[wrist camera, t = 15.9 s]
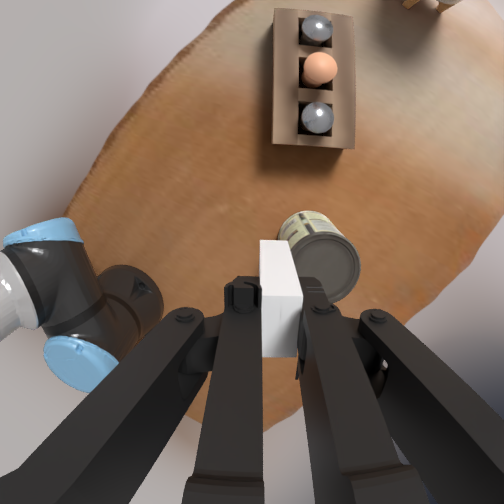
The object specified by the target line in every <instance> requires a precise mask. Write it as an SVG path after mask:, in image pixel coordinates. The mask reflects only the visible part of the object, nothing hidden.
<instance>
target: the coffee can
mask: <svg viewBox="0 0 504 504" xmlns="http://www.w3.org/2000/svg"><path fill="white" fill-rule="evenodd" d="M278 240H281V241H288V244H289V248H290V251H291V255H292V258H293V261H294V265H295V269H296V272H297V276H298V277H315V278H316V279H318V280H319V281H320V282H321V284H322V286H323V289H324V292H325V294H326V296H327V298H328V301H329V303H332V304H333V303H335V302H337V301H340V300H341V299H343V298H344V297H345V296H347V295H348V294H349V293H350V292H351V291H352V289H353V288H354V287H355V285H356V283H357V281H358V279H359V275H360V271H361V262H360V257H359V254H358V251H357V250H356V248H355V246H354V245H353V244H352V243H351V242H350V241H349V240H348V239H347V238H345V237H344V236H343V235H342V234H341V233H340V231H339V230H338V229H337V228H336V227H335V226H334V225H333V224H332V223H331V221H330V220H329V219H328V218H327V217H326V216H324V215H323V214H321V213H318V212H315V211H301V212H298V213H296V214H294V215H292V216H290V217H289V218H288V219H287V220H286V221H285V222H284V223H283V225H282V227H281V229H280V231H279V234H278Z"/></svg>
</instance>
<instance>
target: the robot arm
mask: <svg viewBox="0 0 504 504" xmlns="http://www.w3.org/2000/svg"><path fill="white" fill-rule="evenodd" d="M83 244H84V241H83V240H82V239H81V238H80V236H79V233H78V231H77V228H76V226H75V224H74V222H73V221H72V220H70V219H68V218H56V219H52V220H48V221H44V222H41V223H38V224H35V225H32V226H29V227H27V228H25V229H22V230H19V231H16V232H13V233H11V234H9V235H7V236H6V237H5V238H4V240H3V246H4V248H5V249H3V250H1V251H0V341H2V340H3V339H4V338H6V337H7V336H8V335H10V334H11V333H12V332H14V331H15V330H16V329H18V328H19V327H24V328H28V329H31V330H35V329H37V328H38V327H40V326H42V328H43V330H44V332H45V334H46V335H47V337H48V340H47V341H46V343H45V346H44V358H45V361H46V363H47V365H48V366H49V368H50V369H51V371H52V372H53V373H54V374H55V375H56V376H57V377H58V378H59V379H60V380H62V381H63V382H64V383H66V384H67V385H69V386H71V387H73V388H75V389H77V390H80V391H83V392H86V393H89V395H87V397H86V398H85V399H84V400H83V401H82V402H81V403H80V404H79V405H78V406H77V407H76V408H75V409H74V410H73V411H72V412H71V413H70V414H69V415H68V416H67V417H66V419H64V420H63V421H62V422H61V424H60V425H59V426H58V427H57V428H56V429H55V430H54V431H53V432H52V433H51V434H50V435H49V436H48V437H47V438H46V439H45V440H44V441H43V442H42V444H41V445H40V446H39V447H38V448H37V449H36V450H35V451H34V452H33V453H32V454H31V455H30V456H29V457H28V458H27V460H26V461H25V462H24V463H23V464H22V465H21V466H20V467H19V468H18V469H16V470H14V471H12V472H10V473H8V474H6V475H4V476H2V477H0V504H129V502H130V501H131V499H132V498H133V496H134V494H135V493H136V491H137V490H138V488H139V487H140V485H141V484H142V482H143V481H144V479H145V477H146V476H147V474H148V473H149V471H150V469H151V468H152V466H153V465H154V463H155V462H156V460H157V458H158V457H159V455H160V454H161V452H162V450H163V449H164V447H165V446H166V444H167V442H168V441H169V439H170V437H171V436H172V434H173V433H174V431H175V429H176V427H177V426H178V424H179V423H180V421H181V420H182V418H183V416H184V415H185V413H186V411H187V410H188V408H189V406H190V405H191V403H192V401H193V400H194V398H195V396H196V395H197V393H198V392H199V390H200V388H201V387H202V385H203V383H204V382H205V380H206V378H207V376H208V372H209V371H212V375H211V380H210V385H209V391H208V396H207V401H206V407H205V412H204V417H203V423H202V428H201V434H200V439H199V445H198V450H197V456H196V461H195V467H194V472H193V474H192V476H190V477H188V479H187V481H186V485H185V489H184V493H183V498H182V504H264V481H263V398H262V357H296V356H297V348H298V353H299V356H298V363H297V371H296V378H295V380H298V378H299V381H300V387H301V395H302V402H303V409H304V416H305V424H306V431H307V439H308V447H309V454H310V463H311V471H312V480H313V488H314V497H315V504H430V503H429V500H428V498H427V494H426V491H425V489H424V486H423V483H424V484H425V485H426V487H427V488H428V490H429V491H430V493H431V494H432V496H433V497H434V498H435V500H436V501H437V503H438V504H504V420H503V419H502V418H501V417H500V416H499V415H498V414H497V413H496V412H495V411H494V410H493V409H492V408H491V407H490V406H489V405H488V404H487V403H486V402H485V401H484V400H483V399H482V398H481V397H480V396H479V395H478V394H477V393H476V392H475V391H474V390H473V389H472V388H471V387H470V386H469V385H468V384H466V383H465V382H464V381H463V380H462V379H461V378H460V377H459V376H458V375H457V374H456V373H455V372H454V371H453V370H452V369H451V368H450V367H448V366H447V365H446V364H445V363H444V362H443V361H442V360H441V359H440V358H439V357H437V355H435V354H434V353H433V352H432V351H431V350H430V349H429V348H428V347H427V346H426V345H424V343H422V342H421V341H420V340H419V339H418V338H417V337H416V336H415V335H414V334H412V333H411V332H410V331H409V330H408V329H407V328H406V327H405V326H403V325H402V324H401V323H400V322H399V321H398V320H397V319H396V318H394V317H393V316H392V315H391V314H389V313H388V312H385V311H383V310H380V309H378V310H377V309H368V310H365V311H363V312H362V313H361V315H360V319H354V318H348V317H344V316H342V315H341V312H340V310H339V309H338V307H337V306H335V305H334V304H332V303H329V301H328V298H327V296H326V294H325V292H324V289H323V286H322V284H321V282H320V281H319V280H318V279H316V278H315V277H298V276H297V272H296V269H295V265H294V261H293V258H292V255H291V251H290V248H289V244H288V241H281V240H260V258H259V277H253V276H238V277H236V278H235V279H234V280H233V282H230V283H228V284H226V286H225V287H224V302H225V309H224V312H223V313H222V314H220V315H217V316H213V317H207V318H204V315H203V313H202V312H201V311H200V310H198V309H195V308H188V307H184V308H183V307H182V308H178V309H175V310H172V311H171V312H170V313H168V314H167V315H166V316H165V317H164V318H163V319H162V320H161V318H162V315H163V309H164V304H163V298H162V295H161V292H160V290H159V288H158V287H157V285H156V284H155V282H154V281H153V280H152V279H151V278H150V277H149V276H148V275H147V274H145V273H144V272H143V271H141V270H139V269H137V268H135V267H132V266H128V265H115V266H111V267H109V268H107V269H106V270H104V271H103V272H102V273H101V274H100V275H99V276H98V277H97V276H96V274H95V272H94V269H93V267H92V265H91V262H90V260H89V257H88V255H87V253H86V250H85V248H84V245H83ZM160 320H161V321H160ZM144 336H145V337H144ZM143 337H144V338H143ZM142 338H143V339H142ZM140 339H142V340H141V341H140V342H139V343H138V344H137V342H138V341H139V340H140ZM136 344H137V345H136ZM384 360H385V361H386V362H387V364H388V367H387V368H385V367H384V366H383V361H384ZM391 437H392V438H393V440H394V441H395V443H396V444H397V445H398V447H399V448H400V450H401V451H402V453H403V454H404V455H405V457H406V458H407V460H408V461H409V463H410V464H411V465H403V464H402V463H401V462H400V460H399V458H398V455H397V452H396V450H395V447H394V444H393V441H392V438H391ZM422 481H423V483H422Z"/></svg>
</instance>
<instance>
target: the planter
mask: <svg viewBox="0 0 504 504" xmlns="http://www.w3.org/2000/svg"><path fill="white" fill-rule="evenodd" d="M418 1H419V0H405V1H404V2H403V3H402V5H403V6H404V7H405V8H407V9H409V8H411V7H412V6H413V5H414V4H416V3H417V2H418ZM437 1H439V5H438V6H437V8H436V10H437V11H438V12H440V13H442V12H443V11H445V10H447V9H448V8H450V7H452V6H453V5H455V4H457V3H459V2H461V1H462V0H437Z"/></svg>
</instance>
